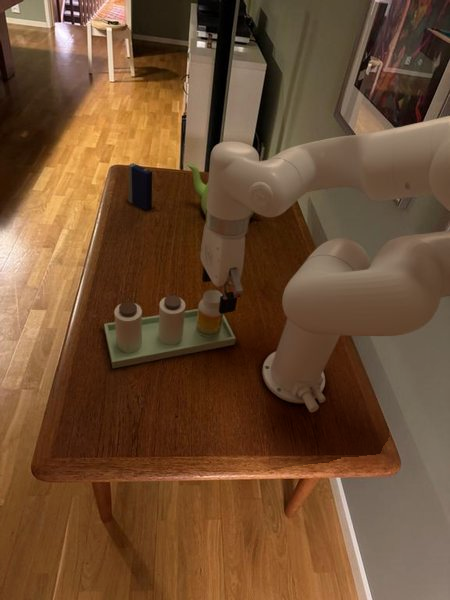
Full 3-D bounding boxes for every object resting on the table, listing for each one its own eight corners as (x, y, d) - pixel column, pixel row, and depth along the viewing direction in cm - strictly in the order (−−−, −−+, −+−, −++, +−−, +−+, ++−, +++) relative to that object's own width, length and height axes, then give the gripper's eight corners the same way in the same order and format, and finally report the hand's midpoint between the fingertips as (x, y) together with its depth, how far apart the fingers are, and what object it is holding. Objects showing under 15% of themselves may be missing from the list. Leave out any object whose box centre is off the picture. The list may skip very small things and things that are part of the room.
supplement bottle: (195, 319, 88) (199, 286, 82) (219, 320, 89) (225, 287, 82) (196, 338, 84) (200, 304, 78) (221, 338, 85) (228, 305, 78)
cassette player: (152, 208, 121) (152, 170, 113) (146, 211, 119) (147, 173, 111) (133, 199, 123) (133, 161, 115) (128, 201, 122) (127, 164, 114)
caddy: (218, 311, 92) (219, 305, 90) (234, 344, 85) (235, 338, 83) (104, 330, 83) (103, 323, 81) (112, 368, 76) (112, 362, 75)
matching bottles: (185, 342, 83) (189, 307, 76) (118, 355, 78) (116, 319, 71) (178, 325, 86) (181, 290, 79) (114, 336, 81) (111, 300, 75)
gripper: (191, 197, 73) (187, 272, 84) (224, 250, 61) (214, 329, 72) (229, 194, 75) (220, 267, 86) (268, 244, 63) (252, 321, 75)
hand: (217, 295), depth 79 cm, fingers open, 9 cm apart
